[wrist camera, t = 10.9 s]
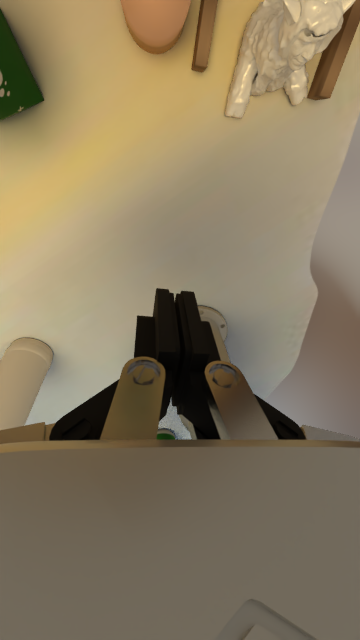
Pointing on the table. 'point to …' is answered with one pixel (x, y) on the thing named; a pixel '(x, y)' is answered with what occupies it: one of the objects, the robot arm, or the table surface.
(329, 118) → the table surface
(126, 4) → the tan rounded cylinder
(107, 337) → the table surface
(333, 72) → the display bay
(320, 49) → the white creature statuette
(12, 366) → the bottle
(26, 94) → the milk carton
